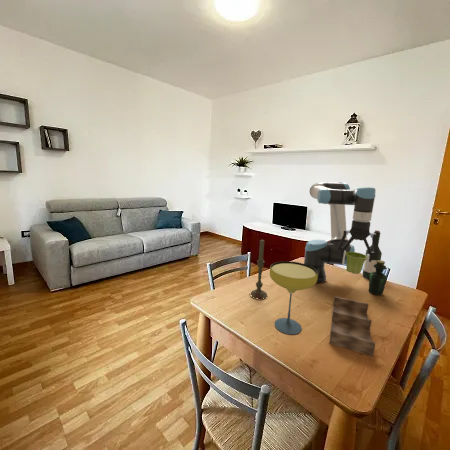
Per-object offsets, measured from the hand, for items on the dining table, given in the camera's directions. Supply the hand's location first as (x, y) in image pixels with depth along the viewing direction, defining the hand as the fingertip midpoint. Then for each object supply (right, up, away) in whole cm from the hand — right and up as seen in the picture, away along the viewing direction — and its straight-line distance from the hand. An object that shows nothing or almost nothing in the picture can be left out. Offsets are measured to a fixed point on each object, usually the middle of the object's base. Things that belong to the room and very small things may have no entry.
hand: (354, 265), depth 117 cm
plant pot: (0, -3, +1) cm, 3 cm away
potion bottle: (+19, -17, +14) cm, 29 cm away
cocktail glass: (-37, -22, -18) cm, 47 cm away
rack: (-11, -23, -17) cm, 31 cm away
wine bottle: (+28, -13, +35) cm, 47 cm away
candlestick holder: (-46, -17, +7) cm, 49 cm away
